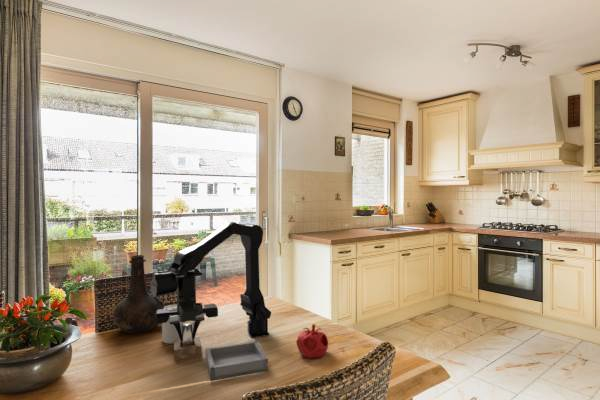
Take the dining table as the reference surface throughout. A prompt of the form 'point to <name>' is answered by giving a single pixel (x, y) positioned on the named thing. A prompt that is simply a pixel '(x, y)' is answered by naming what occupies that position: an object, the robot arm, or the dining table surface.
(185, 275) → the robot arm
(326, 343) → the pomegranate
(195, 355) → the socket block
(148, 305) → the brown vase
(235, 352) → the tray
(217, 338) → the dining table surface
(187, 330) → the pin
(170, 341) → the can
